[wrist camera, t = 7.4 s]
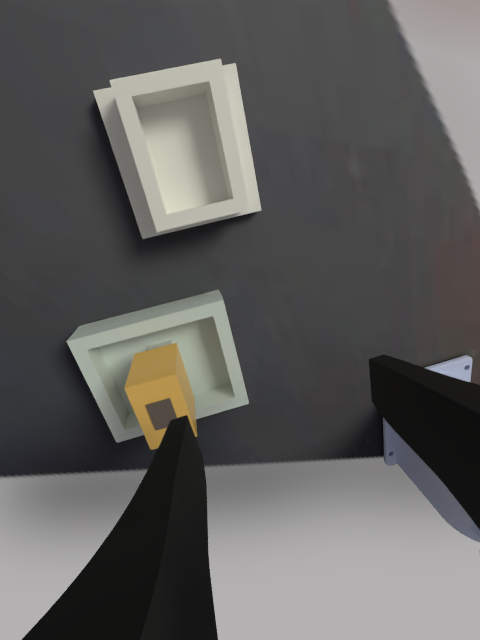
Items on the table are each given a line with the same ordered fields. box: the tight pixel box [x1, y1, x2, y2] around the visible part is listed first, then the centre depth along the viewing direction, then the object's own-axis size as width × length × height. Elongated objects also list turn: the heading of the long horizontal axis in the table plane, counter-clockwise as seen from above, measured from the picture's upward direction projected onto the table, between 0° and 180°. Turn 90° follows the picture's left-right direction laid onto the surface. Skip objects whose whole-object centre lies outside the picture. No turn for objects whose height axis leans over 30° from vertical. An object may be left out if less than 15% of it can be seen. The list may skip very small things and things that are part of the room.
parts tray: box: [67, 290, 249, 443], centre depth 20 cm, size 8×9×2 cm
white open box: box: [93, 59, 261, 239], centre depth 16 cm, size 7×7×3 cm
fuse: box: [124, 340, 197, 450], centre depth 18 cm, size 4×2×6 cm, turn 12°
